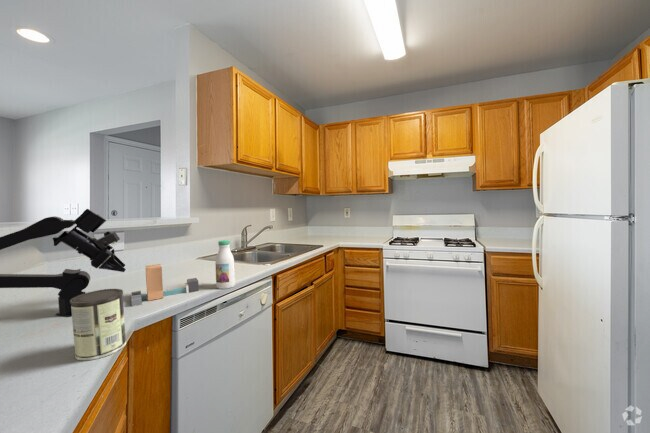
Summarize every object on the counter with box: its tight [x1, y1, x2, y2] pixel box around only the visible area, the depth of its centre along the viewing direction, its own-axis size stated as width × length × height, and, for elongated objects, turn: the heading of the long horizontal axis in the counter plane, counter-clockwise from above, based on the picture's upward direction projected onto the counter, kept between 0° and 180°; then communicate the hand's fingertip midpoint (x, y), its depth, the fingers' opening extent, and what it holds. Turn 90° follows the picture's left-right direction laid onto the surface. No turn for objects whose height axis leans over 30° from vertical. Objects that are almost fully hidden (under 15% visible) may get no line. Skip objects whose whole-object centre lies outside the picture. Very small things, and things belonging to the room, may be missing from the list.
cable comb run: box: [131, 277, 200, 307], centre depth 111 cm, size 23×12×4 cm, turn 125°
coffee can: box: [70, 288, 127, 361], centre depth 70 cm, size 10×10×14 cm
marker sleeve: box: [145, 263, 164, 301], centre depth 109 cm, size 5×7×12 cm
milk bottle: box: [215, 239, 236, 290], centre depth 120 cm, size 8×8×20 cm
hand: (124, 268), depth 103 cm, fingers open, 9 cm apart
